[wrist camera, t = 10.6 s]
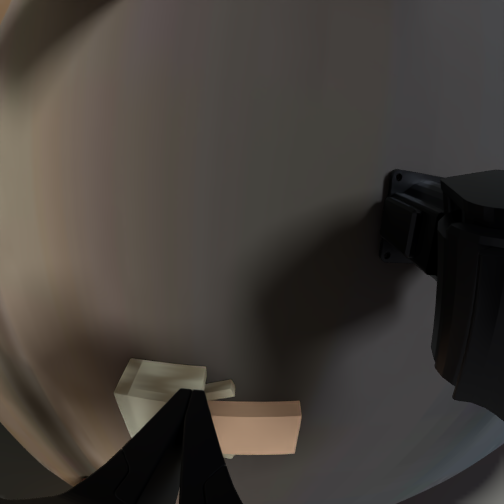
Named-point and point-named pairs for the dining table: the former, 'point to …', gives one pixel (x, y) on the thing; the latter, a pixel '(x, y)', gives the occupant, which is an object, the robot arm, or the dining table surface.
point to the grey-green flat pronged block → (161, 389)
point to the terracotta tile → (256, 426)
